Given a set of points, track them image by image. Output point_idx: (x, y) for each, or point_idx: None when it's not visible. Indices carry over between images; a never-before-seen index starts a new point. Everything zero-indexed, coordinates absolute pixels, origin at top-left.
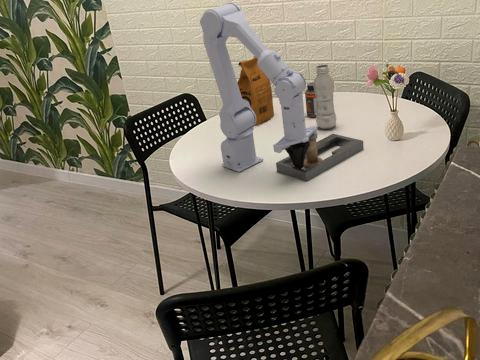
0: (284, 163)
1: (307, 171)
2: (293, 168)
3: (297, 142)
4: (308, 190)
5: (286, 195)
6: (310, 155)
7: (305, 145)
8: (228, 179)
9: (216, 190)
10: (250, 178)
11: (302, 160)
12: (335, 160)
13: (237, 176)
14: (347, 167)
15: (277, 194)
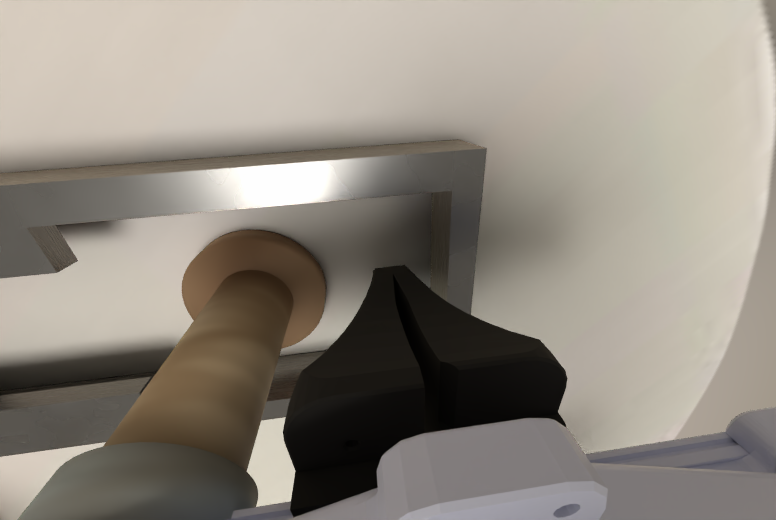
0: None
1: (464, 150)
2: (473, 273)
3: (622, 482)
4: (563, 10)
5: (671, 98)
6: (270, 321)
7: (402, 379)
8: (592, 414)
9: (684, 381)
10: None
11: (392, 290)
12: (103, 170)
13: (559, 413)
14: (56, 36)
15: (669, 157)
